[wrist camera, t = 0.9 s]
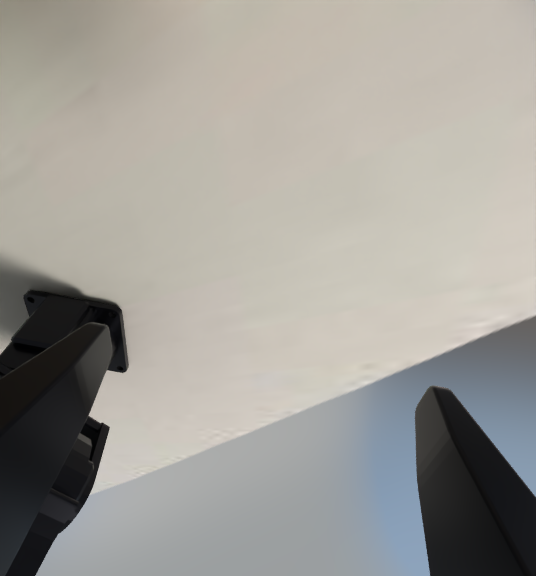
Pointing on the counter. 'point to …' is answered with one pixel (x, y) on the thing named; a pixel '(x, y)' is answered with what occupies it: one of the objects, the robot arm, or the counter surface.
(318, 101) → the counter surface
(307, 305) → the counter surface
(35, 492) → the robot arm
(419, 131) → the counter surface
